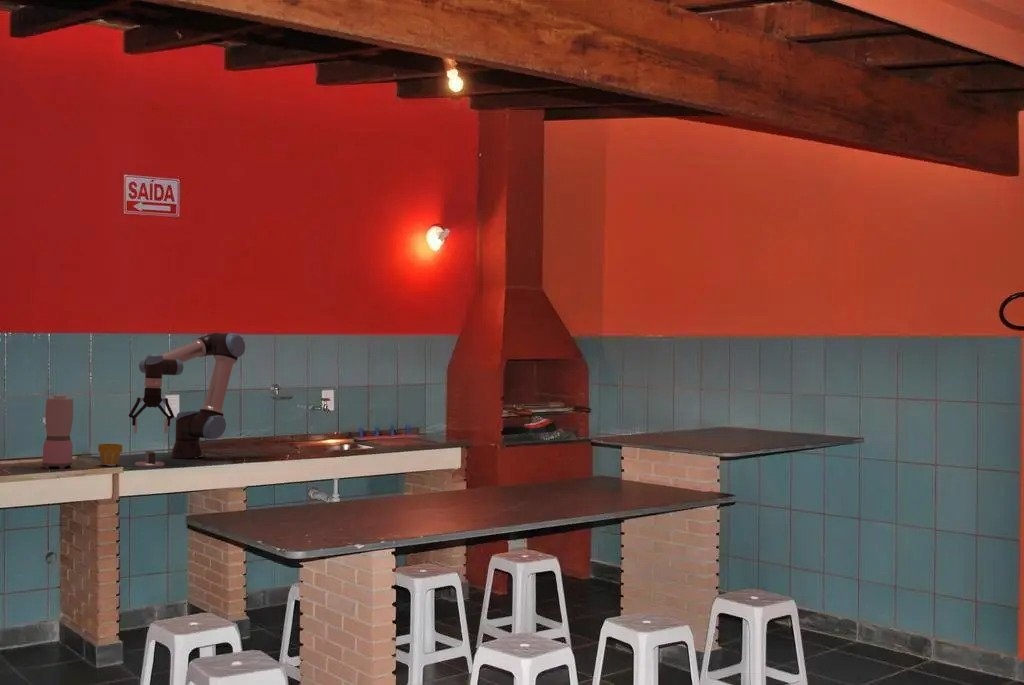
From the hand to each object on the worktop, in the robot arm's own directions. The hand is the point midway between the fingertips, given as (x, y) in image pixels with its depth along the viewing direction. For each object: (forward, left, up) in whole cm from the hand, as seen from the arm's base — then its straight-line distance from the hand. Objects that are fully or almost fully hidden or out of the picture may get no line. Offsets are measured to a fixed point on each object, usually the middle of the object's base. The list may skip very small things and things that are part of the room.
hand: (150, 433), depth 504 cm
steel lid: (0, 0, -15) cm, 15 cm away
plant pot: (+18, +2, -15) cm, 23 cm away
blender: (+40, +5, -15) cm, 43 cm away
